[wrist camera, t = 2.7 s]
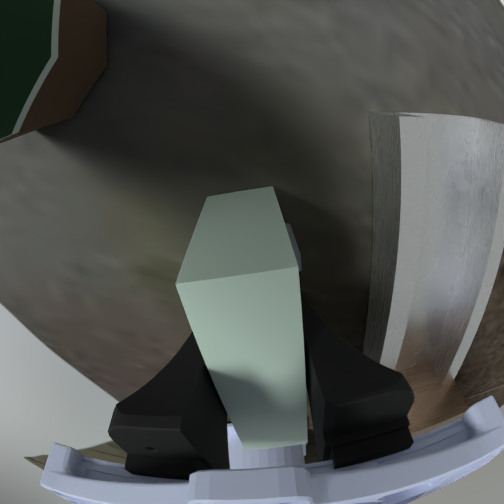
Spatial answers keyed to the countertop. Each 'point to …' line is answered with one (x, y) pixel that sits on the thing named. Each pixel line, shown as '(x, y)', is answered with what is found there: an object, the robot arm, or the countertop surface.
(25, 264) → the countertop surface
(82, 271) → the countertop surface
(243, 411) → the door panel
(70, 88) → the beer bottle
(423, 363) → the rail
